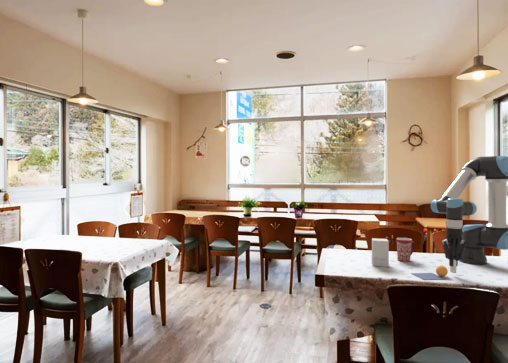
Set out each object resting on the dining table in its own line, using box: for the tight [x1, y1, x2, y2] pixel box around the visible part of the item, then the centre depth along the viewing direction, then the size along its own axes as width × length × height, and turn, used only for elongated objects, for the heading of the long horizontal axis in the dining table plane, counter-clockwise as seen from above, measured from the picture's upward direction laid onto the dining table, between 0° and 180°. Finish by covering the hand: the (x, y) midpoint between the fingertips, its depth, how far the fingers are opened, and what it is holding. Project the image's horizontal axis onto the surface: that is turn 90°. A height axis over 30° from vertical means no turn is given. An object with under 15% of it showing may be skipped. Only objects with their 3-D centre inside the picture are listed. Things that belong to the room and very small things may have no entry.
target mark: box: [410, 272, 447, 281], centre depth 189 cm, size 12×12×1 cm
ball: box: [435, 265, 449, 278], centre depth 189 cm, size 6×6×6 cm
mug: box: [396, 237, 416, 263], centre depth 225 cm, size 13×9×14 cm
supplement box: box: [371, 237, 390, 268], centre depth 213 cm, size 9×9×15 cm
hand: (453, 272), depth 190 cm, fingers closed
